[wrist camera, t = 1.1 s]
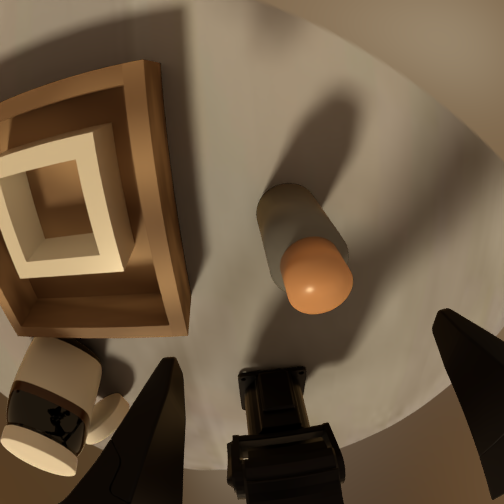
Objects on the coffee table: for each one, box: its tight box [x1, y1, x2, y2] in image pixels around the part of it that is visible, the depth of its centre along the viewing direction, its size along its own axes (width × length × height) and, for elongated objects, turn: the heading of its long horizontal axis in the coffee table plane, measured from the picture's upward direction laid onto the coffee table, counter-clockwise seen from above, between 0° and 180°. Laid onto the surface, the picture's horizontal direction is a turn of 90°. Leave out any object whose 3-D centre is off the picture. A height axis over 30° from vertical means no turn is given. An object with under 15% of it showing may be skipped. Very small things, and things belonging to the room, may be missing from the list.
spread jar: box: [1, 337, 129, 476], centre depth 22 cm, size 12×11×12 cm
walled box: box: [0, 59, 191, 338], centre depth 17 cm, size 16×14×4 cm
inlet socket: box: [0, 123, 135, 279], centre depth 16 cm, size 8×8×3 cm
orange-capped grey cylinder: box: [256, 183, 353, 314], centre depth 17 cm, size 4×4×8 cm
